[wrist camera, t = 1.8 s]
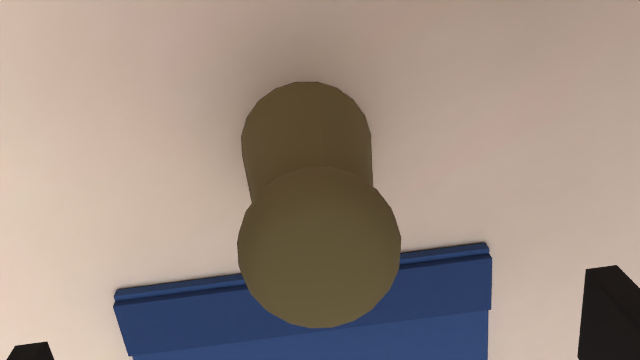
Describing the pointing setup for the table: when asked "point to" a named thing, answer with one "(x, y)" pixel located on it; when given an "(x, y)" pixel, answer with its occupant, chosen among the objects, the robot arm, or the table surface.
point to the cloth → (319, 343)
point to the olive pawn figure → (314, 209)
